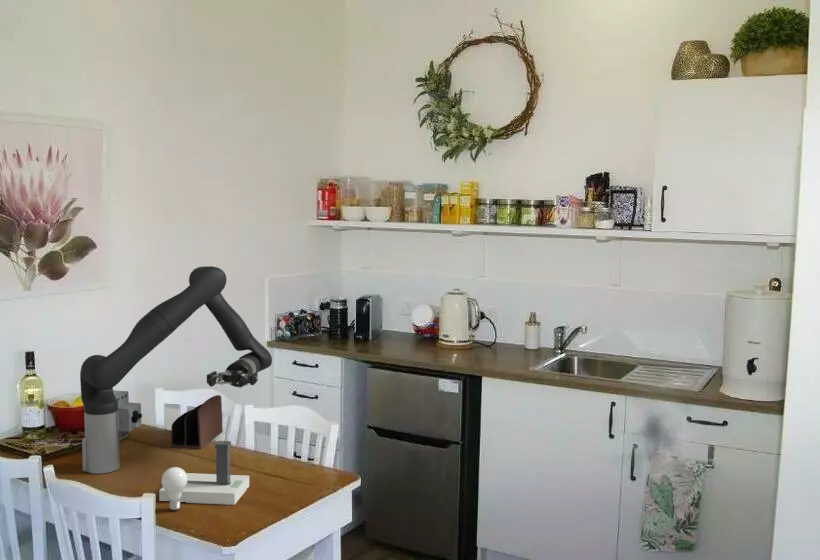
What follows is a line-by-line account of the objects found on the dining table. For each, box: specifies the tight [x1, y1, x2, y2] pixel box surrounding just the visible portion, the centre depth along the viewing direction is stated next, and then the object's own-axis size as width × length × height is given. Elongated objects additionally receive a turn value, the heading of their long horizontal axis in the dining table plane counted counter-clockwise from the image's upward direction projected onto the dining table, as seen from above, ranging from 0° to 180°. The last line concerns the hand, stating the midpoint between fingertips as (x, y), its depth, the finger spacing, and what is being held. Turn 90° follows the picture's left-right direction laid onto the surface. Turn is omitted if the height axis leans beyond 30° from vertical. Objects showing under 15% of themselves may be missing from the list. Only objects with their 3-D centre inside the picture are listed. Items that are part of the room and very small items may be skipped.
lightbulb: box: [161, 466, 188, 511], centre depth 208 cm, size 6×6×11 cm
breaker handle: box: [214, 440, 232, 484], centre depth 219 cm, size 3×3×11 cm
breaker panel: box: [158, 472, 250, 506], centre depth 220 cm, size 20×14×3 cm
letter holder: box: [170, 394, 223, 450], centre depth 268 cm, size 10×20×14 cm, turn 173°
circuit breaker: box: [113, 389, 143, 441], centre depth 269 cm, size 8×14×15 cm, turn 78°
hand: (225, 383), depth 236 cm, fingers open, 8 cm apart
